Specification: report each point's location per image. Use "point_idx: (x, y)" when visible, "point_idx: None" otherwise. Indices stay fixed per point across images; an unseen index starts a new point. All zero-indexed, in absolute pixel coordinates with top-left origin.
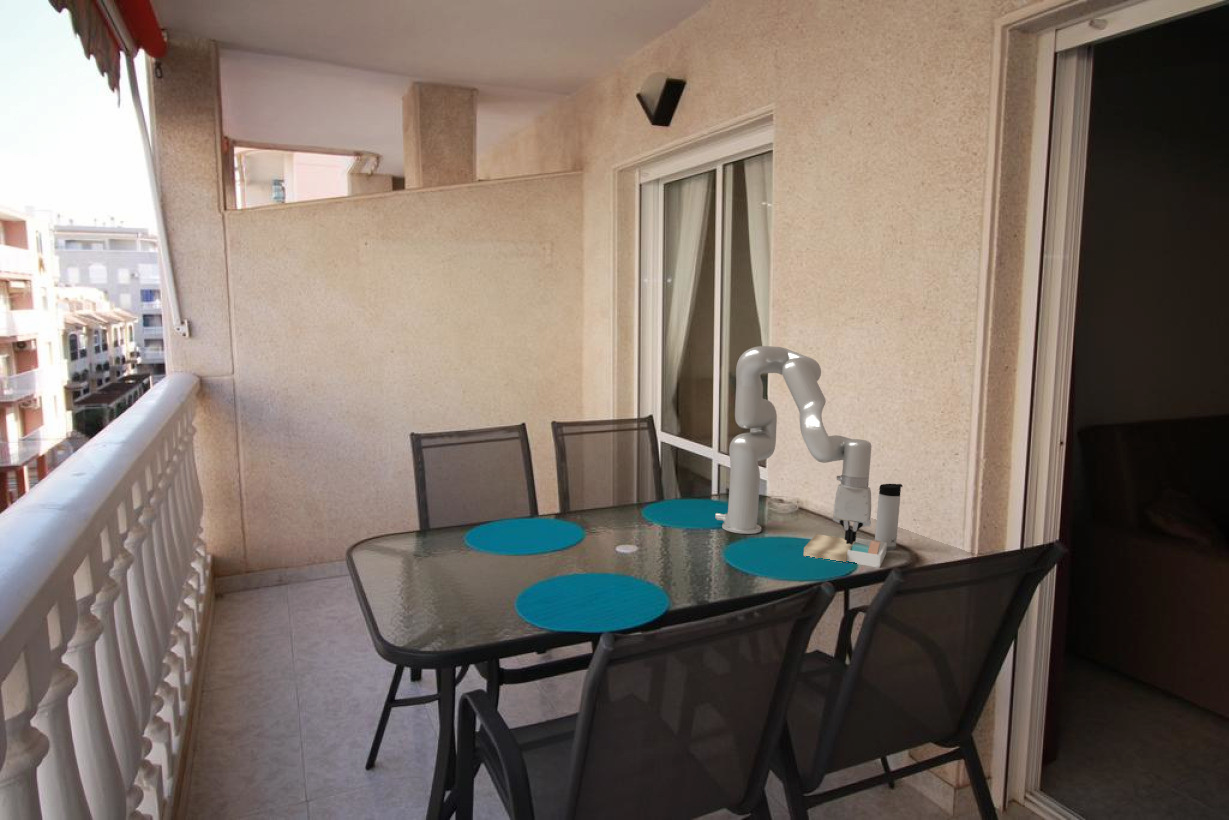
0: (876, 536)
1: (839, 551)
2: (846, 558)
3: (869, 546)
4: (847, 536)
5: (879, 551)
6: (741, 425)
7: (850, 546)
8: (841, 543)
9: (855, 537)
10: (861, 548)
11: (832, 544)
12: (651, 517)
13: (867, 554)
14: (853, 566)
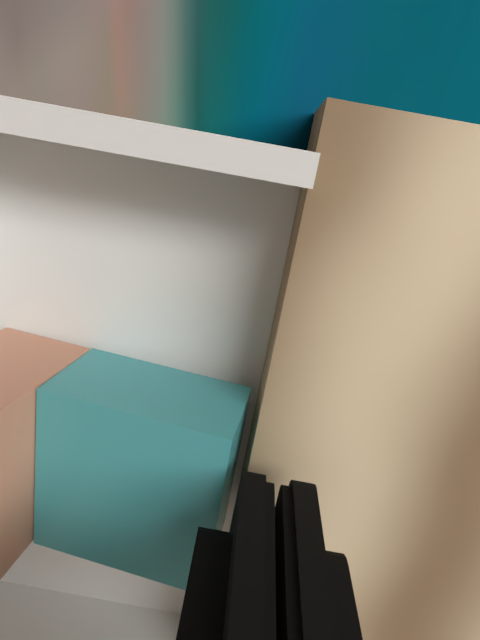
0: None
1: (418, 231)
2: (317, 118)
3: (1, 405)
4: (317, 566)
5: (7, 586)
6: None
7: None
8: None
9: (187, 585)
10: (122, 404)
11: (460, 519)
12: None
13: (14, 100)
14: (230, 4)
